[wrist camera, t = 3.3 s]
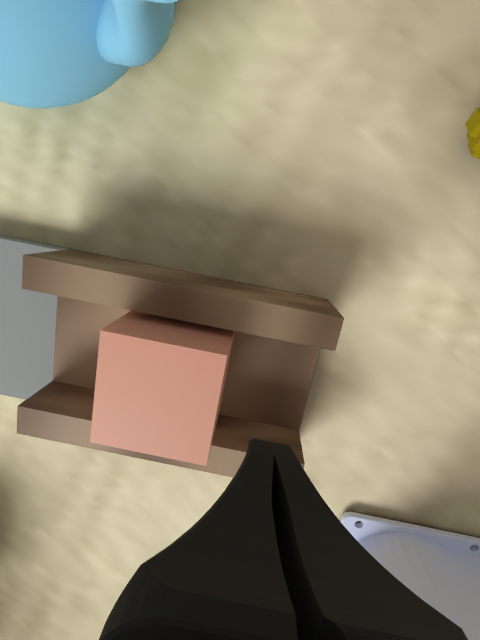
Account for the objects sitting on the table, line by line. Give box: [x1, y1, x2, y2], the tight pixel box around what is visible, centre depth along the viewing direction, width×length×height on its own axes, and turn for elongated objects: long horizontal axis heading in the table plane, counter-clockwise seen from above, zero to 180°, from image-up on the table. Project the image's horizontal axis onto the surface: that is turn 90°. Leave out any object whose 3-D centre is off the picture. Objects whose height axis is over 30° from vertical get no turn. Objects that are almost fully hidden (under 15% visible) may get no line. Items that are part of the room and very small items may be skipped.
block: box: [90, 310, 235, 466], centre depth 17 cm, size 5×5×5 cm
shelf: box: [0, 235, 67, 400], centre depth 20 cm, size 6×9×1 cm
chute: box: [17, 249, 344, 477], centre depth 19 cm, size 14×9×4 cm, turn 79°
